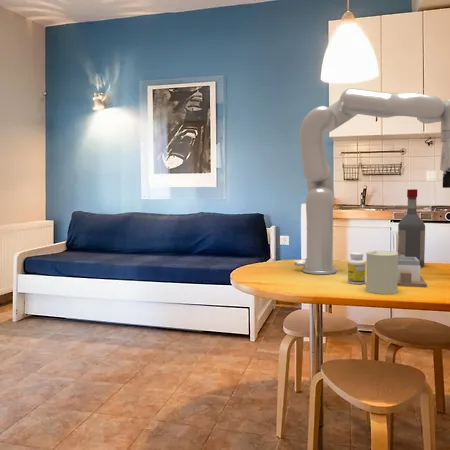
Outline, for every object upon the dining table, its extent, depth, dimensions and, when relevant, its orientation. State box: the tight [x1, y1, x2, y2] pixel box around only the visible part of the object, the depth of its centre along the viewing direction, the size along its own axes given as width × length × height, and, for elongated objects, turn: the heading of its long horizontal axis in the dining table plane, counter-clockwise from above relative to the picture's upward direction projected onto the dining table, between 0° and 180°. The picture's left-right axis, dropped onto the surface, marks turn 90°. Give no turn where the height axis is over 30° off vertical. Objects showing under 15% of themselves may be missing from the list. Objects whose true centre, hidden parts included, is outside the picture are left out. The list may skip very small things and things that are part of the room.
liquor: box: [397, 189, 426, 268], centre depth 175 cm, size 9×9×30 cm
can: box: [365, 250, 399, 295], centre depth 135 cm, size 9×9×12 cm
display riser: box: [397, 257, 428, 288], centre depth 148 cm, size 12×16×8 cm
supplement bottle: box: [347, 251, 366, 285], centre depth 146 cm, size 5×5×10 cm
